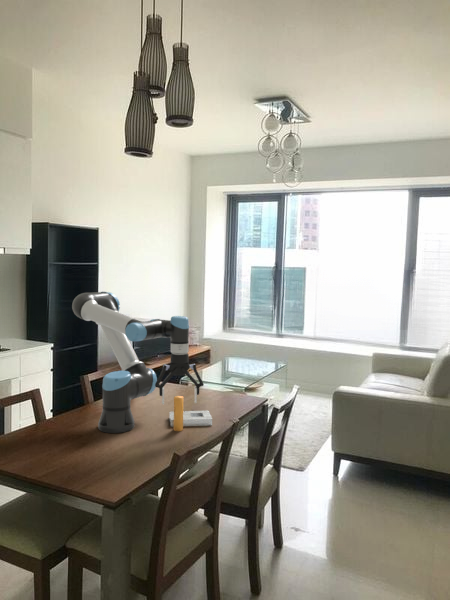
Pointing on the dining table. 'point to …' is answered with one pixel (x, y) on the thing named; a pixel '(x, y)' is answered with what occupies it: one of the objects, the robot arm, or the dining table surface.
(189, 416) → the white peg hole block
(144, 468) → the dining table surface
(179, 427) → the pin
